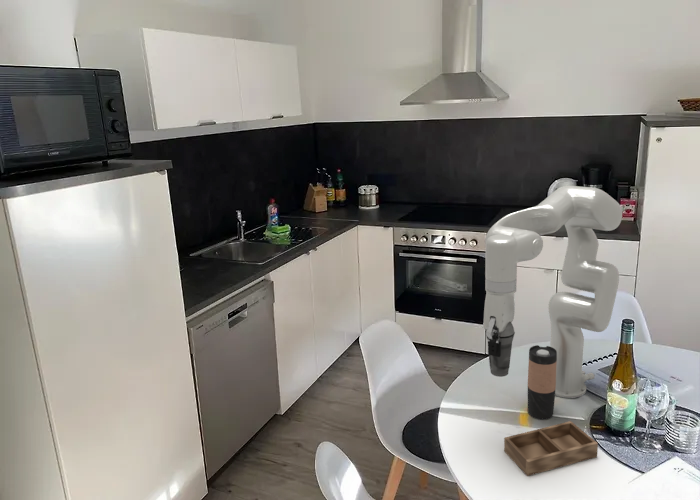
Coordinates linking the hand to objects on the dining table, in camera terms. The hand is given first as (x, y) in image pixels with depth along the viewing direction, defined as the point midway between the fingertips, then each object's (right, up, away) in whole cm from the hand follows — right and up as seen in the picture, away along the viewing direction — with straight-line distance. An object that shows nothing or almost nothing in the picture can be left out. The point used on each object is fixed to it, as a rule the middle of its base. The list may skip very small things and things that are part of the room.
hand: (499, 348), depth 144 cm
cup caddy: (+13, -28, +1) cm, 31 cm away
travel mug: (+17, -22, +19) cm, 34 cm away
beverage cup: (0, -7, +2) cm, 7 cm away
